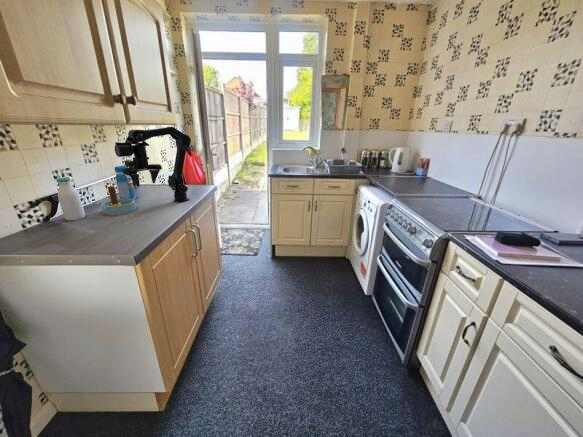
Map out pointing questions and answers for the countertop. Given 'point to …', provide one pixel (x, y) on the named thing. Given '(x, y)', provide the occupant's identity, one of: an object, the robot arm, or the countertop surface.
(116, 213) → the bowl
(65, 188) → the milk bottle
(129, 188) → the beverage bottle
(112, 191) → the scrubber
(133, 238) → the countertop surface
